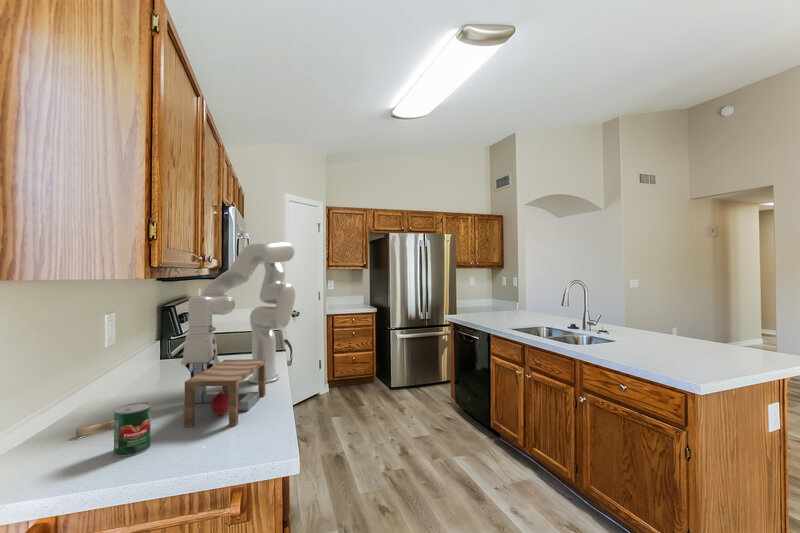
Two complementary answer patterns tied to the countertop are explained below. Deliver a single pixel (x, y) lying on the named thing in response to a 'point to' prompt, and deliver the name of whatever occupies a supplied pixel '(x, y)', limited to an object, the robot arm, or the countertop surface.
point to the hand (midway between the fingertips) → (199, 381)
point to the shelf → (224, 384)
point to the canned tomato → (132, 429)
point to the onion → (220, 403)
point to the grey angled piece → (244, 398)
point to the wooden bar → (95, 428)
